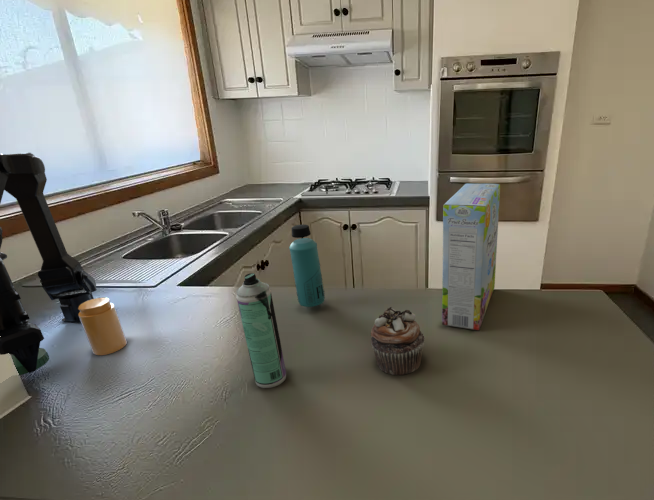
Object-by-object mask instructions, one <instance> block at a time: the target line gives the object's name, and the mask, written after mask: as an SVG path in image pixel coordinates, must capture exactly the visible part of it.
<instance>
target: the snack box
mask: <svg viewBox="0 0 654 500" xmlns="http://www.w3.org/2000/svg"><path fill="white" fill-rule="evenodd" d="M500 196H501V184H500V183H469V182H468V183H464V184H463V186H462V187H460V188H459V189H458V190H457V192H455V193H454V194H453V195H452V196H451V197H450V198H449V199H448V200H447V201H446V202H445V203H444V204H443V205H442V206H443V207H442V210H443V211H442V276H441V277H442V281H441V282H442V283H441V284H442V288H441V290H442V292H441V324H442V326H446V327H454V328H460V329H467V330H473V331H480V329H481V326H482V324H483V321H484V318H485V315H486V312H487V309H488V308H489V307H488V306H489V304H490V301H491V298H492V295H493V293H494V289H495V286H496V267H497V253H498V252H497V249H498V234H499V233H498V231H499V216H500V215H499V214H500V213H499V212H500V199H501V197H500Z"/></svg>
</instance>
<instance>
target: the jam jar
mask: <svg viewBox="0 0 654 500" xmlns="http://www.w3.org/2000/svg"><path fill="white" fill-rule="evenodd" d="M78 309H79V310H80V312H79V314H78V315H79V318H80V321H81V322H80V323H81V325H82V328H83V331H84V334H85V336H86V338H87V340H88V341H87V342H88V343H89V346H90V349H91V350H92V354H93V355H95V356H106V355H110V354H114V353H116V352H118V351H121V350H122V349H123V348H125V347H126V345H127V344H128V341H127V338H126V335H125V332H124V329H123V326H122V324H121V320H120V317H119V315H118V313H117V312H118V311H117V310H116V307H115V304H114V303H112V302H111V300H110V298H109V297H104V296H103V297H95V298H94V299H92V300H89V301H86V302H84V303H82V304H81V305H80V306H79V308H78Z"/></svg>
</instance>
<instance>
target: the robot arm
mask: <svg viewBox="0 0 654 500" xmlns="http://www.w3.org/2000/svg"><path fill="white" fill-rule="evenodd" d="M47 181H48V179H47V176H46V167H45V164H44V162H43V160H42V159H41V157H39V156H36V155H35V154H34V153H32V152H19V153H18V152H17V153H9V154H4V153H0V204H1V203H2V199H3V196H4V192H6V193H8V194H9V195H10V196H12V197H14V199H15V200H16V202H17V204H18V206H19V209H20V211H21V214H22V216H23V218H24V220H25V224H26V225H27V227H28V229H29V231H30V234H31V236H32V239H33V241H34V244H35V245H36V248H37V250H38V252H39V255H40V257H41V260H42V264H41V267H40V270H39V271H38V272H37V276H38V278H39V280H40V283H41V287H42V288H43V290H44V292H45V293H46V295H47V296H48V297H49V299H50V300H51V301H55V300H58V302H59V304H60V305H59V307H60V310H61V313H62V315H63V318H62V319H61V321H62V322H66V323H67V322H69V323H70V322H71V323H81V321H80V318H79V315H78V314H79V312H80V310H79V309H78V308H79V306H80V305H81V304H82V303H84V302H86V301H89V300H92V299H95V298H94V295H93V293H94V292H96V291H97V282H96V279H95V278H94V277H93V276H91V274H89V273H88V272H86V271H85V270H84V268H83V267H82V264H81V263H80V261H79V260H77V259H76V258H75V257H73V256H72V255H70V254H69V253H68V252H67V249H66V247H65V244H64V241H63V240H62V237H61V234H60V232H59V230H58V227H57V223H56V222H55V219H54V216H53V215H52V211H51V210H50V207H49V204H48V202H47V199H46V197H45V194H44V191H45V188H46V184H47ZM2 245H3V228H2V227H1V226H0V249H1V248H2ZM7 258H8V255H7V254H6V253H4V252H1V251H0V336H1V337H0V355H7V354H8V353H9V355H11V356H12V355H14V356H15V357H16V359H17V360H18V361H19V362H20V363H21V364H22V366H23V367H24V368H25V369H26V370H27V371H28V373H27V374H31V373H34V372H36V371H37V369H36V367H37V360H38V353H39V348H41V347H40V346H41V342H42V341H43V340H45V337H44V335H43V332H42V330H41V328H40V327H39V326H38V325H37V324H35V323H32V322H29V321H28V320H30V319H31V318H30V316H29V314H28V313H27V311H26V310H25V308H24V306H23V303H22V301H21V299H22V298H21V296H20V293H19V292H18V291H17V290H16V287H15V285H14V283H13V281H12V279H11V276H10V274H9V272H8V270H7V267H6V266H5V263H4V260H6V259H7Z"/></svg>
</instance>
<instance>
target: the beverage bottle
mask: <svg viewBox="0 0 654 500" xmlns="http://www.w3.org/2000/svg"><path fill="white" fill-rule="evenodd" d="M309 236H311V229H310V226H309V224H304V223H303V224H296V225H293V226H292V227H291V237H292V238H294V240H293V241H292V242H291V244H290V245H289V247H288V249H289V252H290V258H291V265H292V271H293V279H294V285H295V291H296V293H295V294H296V297H297V301H298V304H299V305H300V306H301V307H305V308H312V307H317V306H319V305H322V304H323V303H324V302H325V299H326V296H325V295H326V293H325V289H324V283H323V275H322V270H321V263H320V256H319V249H318V243H317V242H316V240H314V239H312V238H309Z"/></svg>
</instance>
